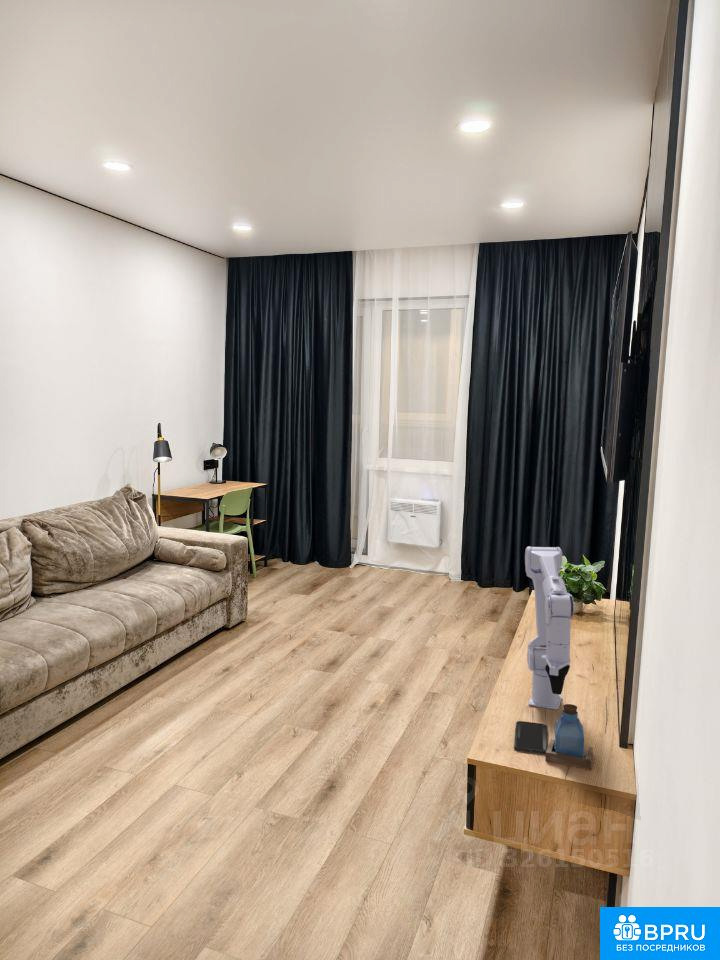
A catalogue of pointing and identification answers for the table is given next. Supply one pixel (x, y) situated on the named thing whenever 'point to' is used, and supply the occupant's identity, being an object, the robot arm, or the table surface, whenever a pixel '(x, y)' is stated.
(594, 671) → the table surface
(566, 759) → the bracket
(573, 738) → the perfume bottle
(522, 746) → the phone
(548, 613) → the robot arm
